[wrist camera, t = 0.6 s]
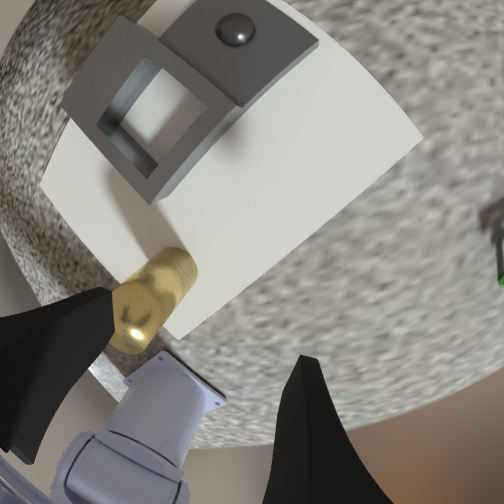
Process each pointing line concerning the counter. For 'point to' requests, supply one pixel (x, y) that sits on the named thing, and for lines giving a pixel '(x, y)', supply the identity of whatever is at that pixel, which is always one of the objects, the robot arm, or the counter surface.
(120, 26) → the plate
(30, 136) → the counter surface
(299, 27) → the plate
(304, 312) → the counter surface
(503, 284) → the gear
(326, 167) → the mat
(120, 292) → the pin
